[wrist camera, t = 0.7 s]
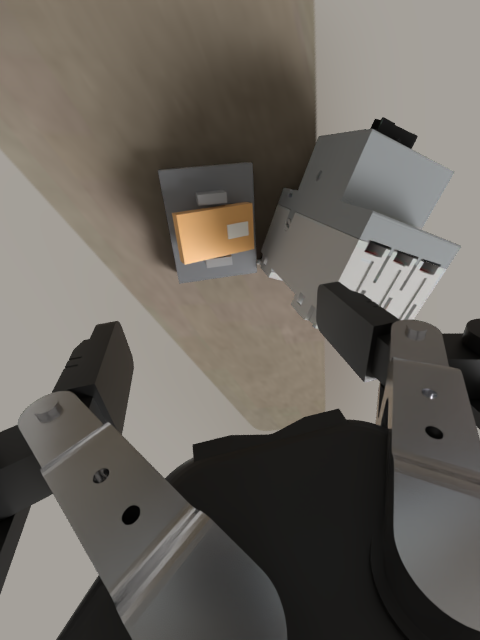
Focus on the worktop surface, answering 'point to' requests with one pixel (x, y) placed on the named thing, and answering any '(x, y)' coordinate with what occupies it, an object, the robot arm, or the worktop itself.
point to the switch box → (203, 192)
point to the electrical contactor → (361, 222)
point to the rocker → (214, 231)
